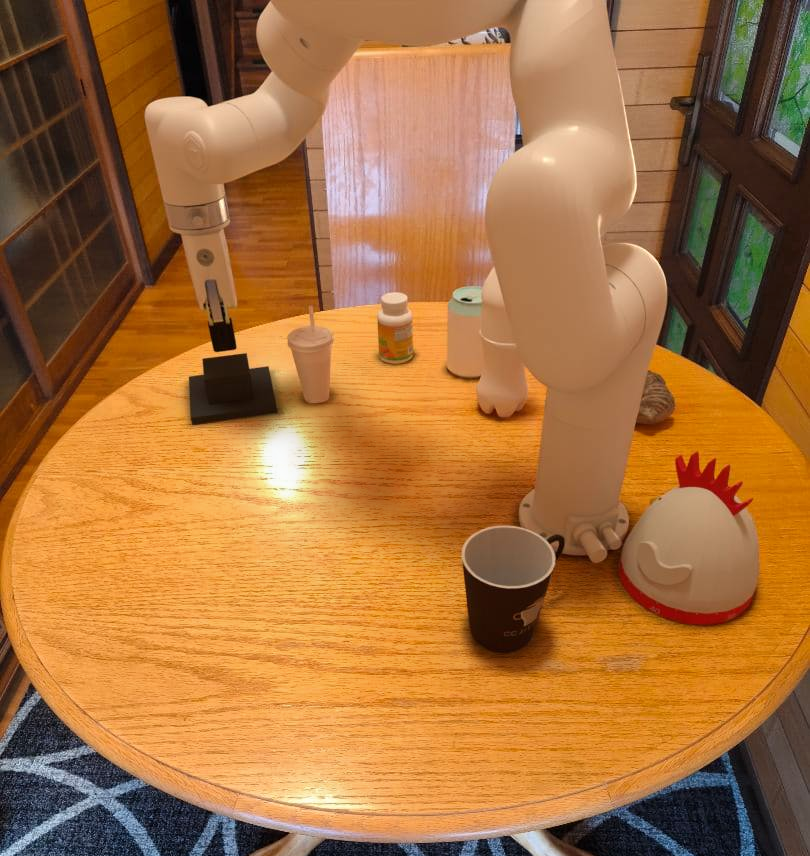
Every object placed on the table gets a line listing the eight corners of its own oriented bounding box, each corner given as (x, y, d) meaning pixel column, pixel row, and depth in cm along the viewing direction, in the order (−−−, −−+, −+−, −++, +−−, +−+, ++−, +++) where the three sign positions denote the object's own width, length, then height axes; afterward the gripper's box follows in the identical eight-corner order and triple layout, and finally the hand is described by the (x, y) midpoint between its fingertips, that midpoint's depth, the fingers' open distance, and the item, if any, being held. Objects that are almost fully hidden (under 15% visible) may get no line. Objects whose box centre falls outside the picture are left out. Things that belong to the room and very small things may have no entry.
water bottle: (467, 414, 107) (474, 233, 91) (487, 390, 112) (498, 215, 96) (515, 426, 105) (531, 243, 88) (533, 401, 110) (552, 223, 93)
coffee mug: (473, 669, 73) (477, 596, 66) (448, 606, 79) (450, 533, 73) (586, 646, 75) (601, 572, 68) (553, 586, 81) (564, 514, 75)
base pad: (277, 413, 109) (275, 393, 107) (192, 425, 107) (187, 405, 105) (269, 373, 118) (266, 354, 115) (190, 383, 116) (185, 364, 113)
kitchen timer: (667, 519, 89) (697, 408, 79) (777, 579, 81) (826, 464, 72) (592, 574, 83) (614, 460, 73) (704, 646, 75) (747, 529, 65)
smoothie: (331, 410, 109) (322, 317, 100) (288, 406, 110) (276, 314, 101) (343, 387, 114) (335, 297, 104) (302, 384, 115) (291, 294, 106)
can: (494, 380, 114) (499, 303, 107) (447, 380, 115) (449, 304, 107) (490, 357, 120) (495, 283, 112) (445, 358, 120) (447, 284, 112)
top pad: (254, 398, 110) (250, 373, 107) (209, 404, 108) (203, 379, 106) (250, 377, 114) (246, 352, 112) (207, 382, 113) (202, 358, 111)
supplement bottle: (373, 352, 122) (370, 294, 115) (404, 345, 123) (402, 287, 117) (387, 367, 118) (384, 307, 112) (418, 360, 120) (418, 300, 113)
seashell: (636, 444, 102) (680, 422, 105) (645, 400, 97) (690, 379, 100) (589, 410, 108) (631, 390, 111) (595, 368, 103) (639, 348, 105)
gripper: (231, 228, 90) (256, 369, 102) (224, 191, 101) (248, 322, 113) (166, 235, 89) (199, 377, 101) (166, 198, 100) (196, 329, 112)
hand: (225, 348), depth 107 cm, fingers closed
